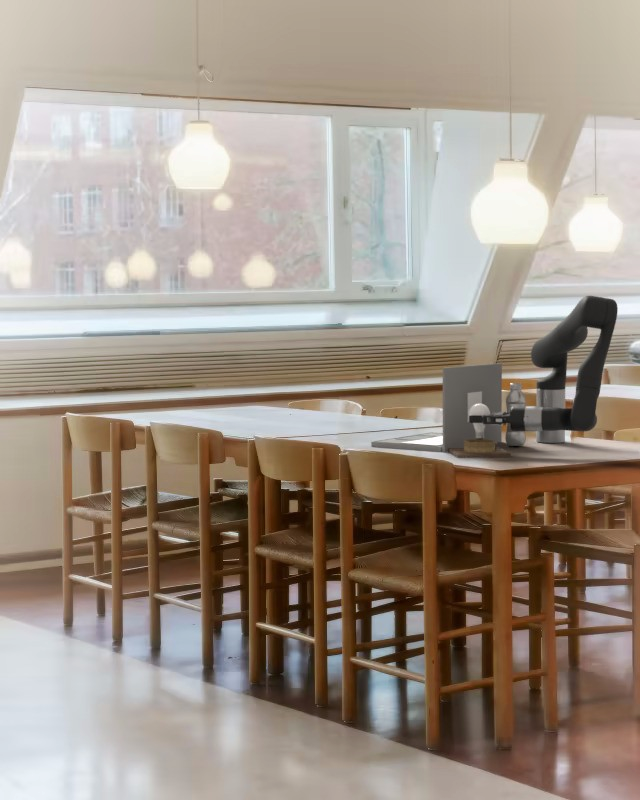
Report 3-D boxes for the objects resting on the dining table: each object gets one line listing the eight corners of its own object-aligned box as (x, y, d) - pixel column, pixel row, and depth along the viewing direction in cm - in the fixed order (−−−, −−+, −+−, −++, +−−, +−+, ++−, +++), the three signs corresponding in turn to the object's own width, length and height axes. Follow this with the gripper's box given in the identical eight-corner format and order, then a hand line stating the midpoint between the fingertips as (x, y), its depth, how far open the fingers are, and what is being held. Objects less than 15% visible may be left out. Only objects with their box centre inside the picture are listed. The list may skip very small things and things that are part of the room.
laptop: (430, 438, 441) (430, 361, 439) (502, 442, 424) (502, 363, 422) (371, 447, 413) (371, 365, 411) (445, 453, 396) (445, 367, 395)
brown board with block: (448, 451, 398) (448, 438, 398) (500, 450, 399) (500, 437, 399) (457, 457, 382) (457, 444, 382) (511, 456, 383) (511, 443, 383)
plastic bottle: (523, 445, 414) (524, 382, 413) (527, 447, 407) (528, 383, 406) (503, 445, 414) (503, 382, 412) (507, 447, 407) (507, 384, 406)
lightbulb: (476, 441, 386) (475, 404, 386) (465, 439, 392) (464, 403, 391) (494, 440, 389) (493, 403, 388) (483, 438, 395) (482, 402, 394)
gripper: (531, 404, 392) (476, 404, 397) (523, 407, 378) (466, 407, 384) (531, 429, 393) (476, 428, 398) (523, 433, 379) (467, 432, 384)
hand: (471, 418), depth 391 cm, fingers closed on lightbulb, 6 cm apart
